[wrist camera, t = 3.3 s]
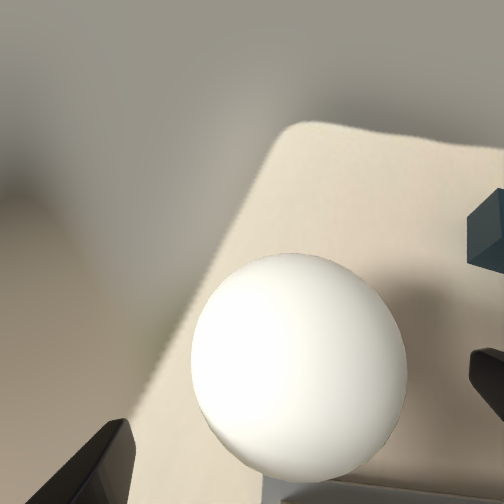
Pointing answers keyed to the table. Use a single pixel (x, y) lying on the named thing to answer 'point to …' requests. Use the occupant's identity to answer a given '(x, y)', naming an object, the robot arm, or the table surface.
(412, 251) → the table surface
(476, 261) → the watch
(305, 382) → the lightbulb
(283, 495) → the socket plate
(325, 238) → the table surface
